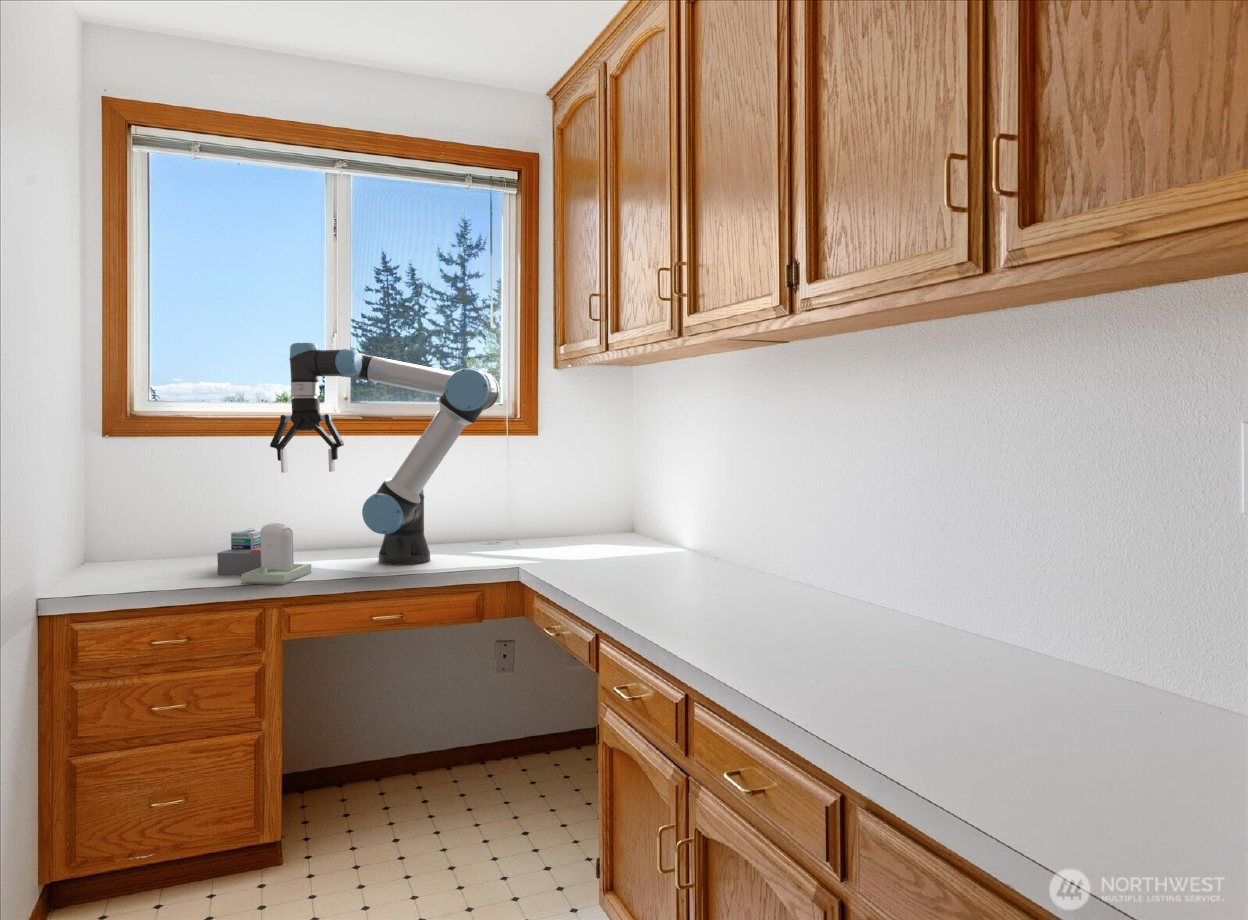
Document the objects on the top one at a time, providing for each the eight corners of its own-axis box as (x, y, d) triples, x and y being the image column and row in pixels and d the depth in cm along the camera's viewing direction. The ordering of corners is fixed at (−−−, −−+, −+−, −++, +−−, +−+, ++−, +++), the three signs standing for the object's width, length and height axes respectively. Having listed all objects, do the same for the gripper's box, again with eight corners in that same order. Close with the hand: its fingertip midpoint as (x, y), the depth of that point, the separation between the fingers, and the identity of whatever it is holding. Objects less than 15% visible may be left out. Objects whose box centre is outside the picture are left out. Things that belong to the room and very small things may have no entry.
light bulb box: (254, 570, 237) (253, 532, 237) (230, 570, 237) (229, 532, 237) (270, 563, 248) (270, 527, 247) (248, 563, 248) (247, 527, 247)
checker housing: (277, 571, 236) (277, 550, 235) (267, 575, 230) (267, 553, 229) (229, 570, 236) (228, 549, 236) (217, 574, 230) (217, 552, 230)
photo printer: (258, 568, 227) (257, 522, 226) (272, 565, 230) (271, 521, 230) (282, 572, 221) (281, 525, 220) (296, 569, 225) (295, 523, 224)
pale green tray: (311, 572, 234) (311, 563, 234) (284, 584, 217) (284, 574, 217) (271, 572, 234) (271, 563, 234) (241, 583, 218) (241, 574, 218)
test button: (269, 565, 234) (268, 547, 234) (263, 567, 231) (263, 549, 231) (257, 565, 234) (256, 547, 234) (251, 567, 231) (251, 549, 231)
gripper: (256, 398, 235) (258, 473, 236) (344, 396, 235) (347, 471, 237) (267, 398, 243) (270, 471, 244) (353, 397, 243) (355, 470, 244)
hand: (308, 472), depth 240 cm, fingers open, 13 cm apart
